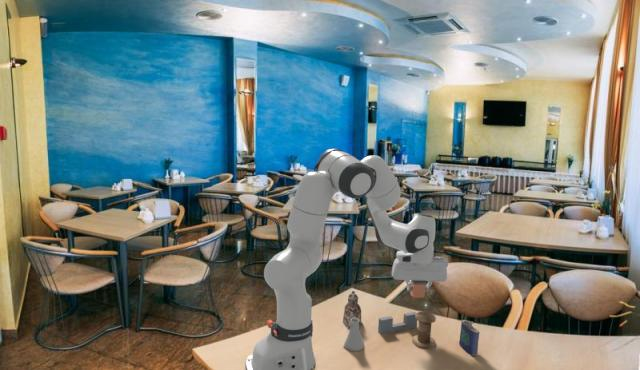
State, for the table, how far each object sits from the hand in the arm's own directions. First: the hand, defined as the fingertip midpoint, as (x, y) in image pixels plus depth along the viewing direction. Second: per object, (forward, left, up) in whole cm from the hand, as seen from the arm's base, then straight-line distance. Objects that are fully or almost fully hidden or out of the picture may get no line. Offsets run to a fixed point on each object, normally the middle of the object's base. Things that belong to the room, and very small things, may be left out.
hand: (417, 290), depth 157 cm
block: (0, 0, -2) cm, 2 cm away
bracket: (-7, +2, -15) cm, 17 cm away
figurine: (-21, +13, -16) cm, 29 cm away
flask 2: (+9, -18, -16) cm, 26 cm away
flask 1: (-28, -3, -16) cm, 32 cm away
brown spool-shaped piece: (-3, -9, -15) cm, 18 cm away
